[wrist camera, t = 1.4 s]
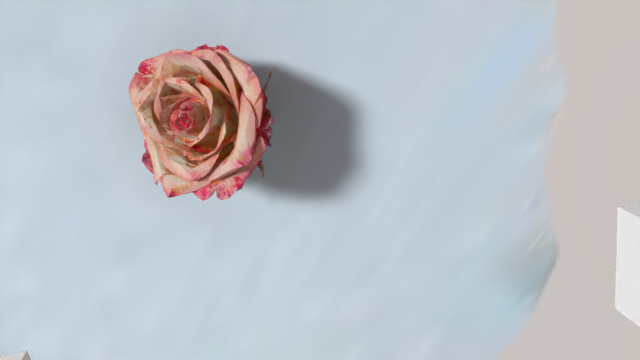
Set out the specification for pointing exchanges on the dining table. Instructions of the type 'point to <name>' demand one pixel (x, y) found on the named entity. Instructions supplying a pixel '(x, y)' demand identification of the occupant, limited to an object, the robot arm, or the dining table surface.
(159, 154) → the flower
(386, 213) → the dining table surface
